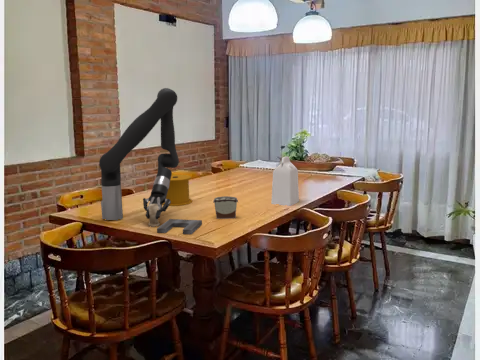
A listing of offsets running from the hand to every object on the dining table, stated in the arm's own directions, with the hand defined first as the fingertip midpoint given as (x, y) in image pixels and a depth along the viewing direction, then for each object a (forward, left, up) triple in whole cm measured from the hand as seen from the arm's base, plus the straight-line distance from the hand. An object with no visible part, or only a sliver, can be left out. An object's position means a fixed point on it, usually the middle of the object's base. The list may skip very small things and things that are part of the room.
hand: (152, 218), depth 207 cm
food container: (+30, +22, -4) cm, 37 cm away
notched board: (+14, -1, -4) cm, 15 cm away
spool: (-6, +49, -4) cm, 50 cm away
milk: (+56, +57, -4) cm, 80 cm away
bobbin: (0, +2, -4) cm, 5 cm away
